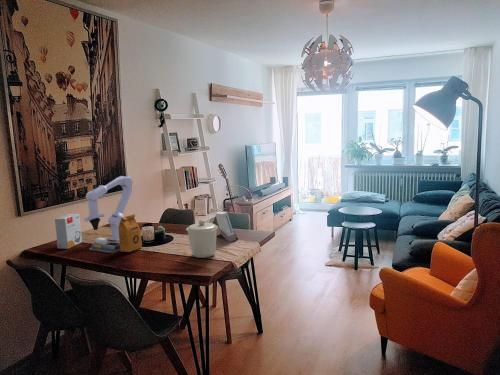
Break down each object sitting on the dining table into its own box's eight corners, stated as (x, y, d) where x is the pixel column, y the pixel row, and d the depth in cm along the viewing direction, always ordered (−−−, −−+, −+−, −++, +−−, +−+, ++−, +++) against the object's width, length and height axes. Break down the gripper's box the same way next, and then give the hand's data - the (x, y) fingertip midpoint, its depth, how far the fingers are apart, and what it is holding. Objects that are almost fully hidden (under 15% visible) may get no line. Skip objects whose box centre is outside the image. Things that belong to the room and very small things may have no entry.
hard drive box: (67, 249, 248) (64, 219, 245) (57, 248, 250) (53, 218, 246) (82, 241, 263) (79, 213, 260) (72, 241, 265) (69, 213, 261)
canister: (190, 262, 213) (187, 225, 210) (186, 252, 231) (183, 218, 227) (222, 257, 218) (220, 221, 215) (216, 248, 236) (214, 215, 232)
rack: (103, 244, 255) (103, 239, 254) (126, 247, 246) (126, 242, 245) (89, 249, 244) (88, 244, 244) (112, 253, 235) (111, 247, 235)
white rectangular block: (100, 245, 250) (99, 237, 249) (107, 246, 247) (107, 238, 246) (96, 246, 247) (95, 238, 247) (104, 247, 244) (103, 239, 244)
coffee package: (144, 248, 243) (141, 214, 239) (129, 254, 232) (125, 218, 229) (133, 246, 248) (130, 212, 245) (118, 251, 238) (114, 217, 234)
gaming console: (240, 240, 250) (232, 211, 246) (229, 244, 248) (221, 215, 244) (230, 231, 272) (223, 205, 267) (220, 235, 270) (212, 208, 265)
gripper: (97, 206, 261) (100, 226, 263) (80, 211, 248) (82, 232, 250) (105, 207, 258) (107, 227, 260) (87, 212, 245) (90, 232, 247)
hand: (95, 229), depth 255 cm, fingers closed
